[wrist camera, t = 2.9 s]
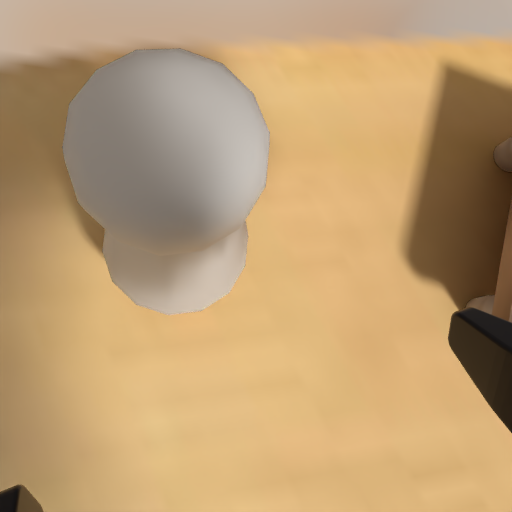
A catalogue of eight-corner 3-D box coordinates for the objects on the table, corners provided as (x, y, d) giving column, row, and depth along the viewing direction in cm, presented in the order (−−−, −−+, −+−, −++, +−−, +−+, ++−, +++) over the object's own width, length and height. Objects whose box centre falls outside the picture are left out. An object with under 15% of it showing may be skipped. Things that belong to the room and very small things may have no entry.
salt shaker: (121, 185, 22) (37, -35, 9) (245, 200, 23) (322, 16, 10) (103, 312, 21) (-22, 260, 8) (234, 324, 21) (306, 292, 9)
